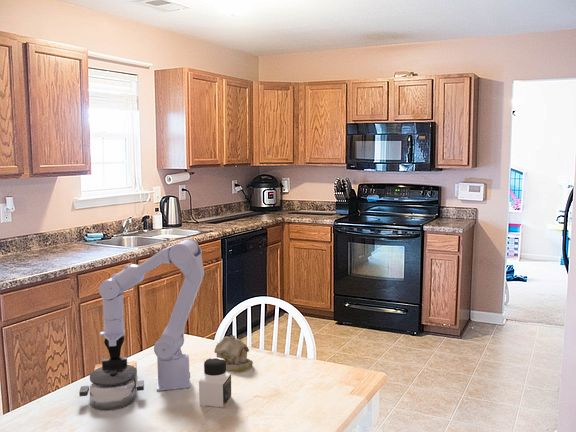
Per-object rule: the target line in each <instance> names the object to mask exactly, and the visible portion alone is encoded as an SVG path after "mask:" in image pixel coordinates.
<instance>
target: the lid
mask: <svg viewBox="0 0 576 432" xmlns="http://www.w3.org/2000/svg"><path fill="white" fill-rule="evenodd" d="M127 362H128V357H127V356H123V357H121V356H120V358H110V357H109V358H102V361H101V363H102V367H100V368H98V369H96V370H95V369H94V370H93V371H92V372H90V374H89V381H90V383H91V384H96V385H100V386H113V385H119V384H123V383H126V382H129V381H131V380H133V379H134V378H135V377H136V376H137V377H138V370H137V369H138V368H137V369H136V368H135V367H133V366H131V365H127Z"/></svg>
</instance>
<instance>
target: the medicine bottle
mask: <svg viewBox="0 0 576 432" xmlns="http://www.w3.org/2000/svg"><path fill="white" fill-rule="evenodd" d="M203 371H204V372H203V373H204V375H203V376H202V377H201V378H200V380H199V381H198V397H199V398H198V399H199V402H198V403H199V406H204V407H214V408H225V406H226V405H227V403H228V402H229V400H230V399H231V397H232V374H231V373H232V372H227V371H226V361H225V360H224V359H222V358H217V356H216V357H215V356H214V357H211V358H208V359H205V360H204V363H203Z"/></svg>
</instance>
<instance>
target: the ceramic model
mask: <svg viewBox="0 0 576 432" xmlns="http://www.w3.org/2000/svg"><path fill="white" fill-rule="evenodd" d="M249 352H250V349H249V347H248V346H247V344H246V343H244V341H243V340H241V339H239V338H236V335H233V334H230V336H224V337H223V338H222V339H221V340H220V341H219V342H218V343H217V344H216V345H215V348H214V354H216V357H217V358H222V359H224V360H225V361H226V372H229V373H238V374H239V373H240V374H241V373H244V372H247V371H249V370H251V369H252V368H253V364H254V362H253V360H251V359H249V358H248V353H249Z"/></svg>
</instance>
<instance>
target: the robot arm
mask: <svg viewBox="0 0 576 432" xmlns="http://www.w3.org/2000/svg"><path fill="white" fill-rule="evenodd" d="M202 253H203V250H202V249H201V246H200V245H199V244H198V241H196V240H194V239H193V238H185V239H183V240H182V241H179V242H176V243H174V244H173V245H170V246H167V247H165V248H163V249H161V250H159V251H158V252H157V253H155V254H153V255H152V256H150V257H149V258H147V259H146V260H145V261H143V262H142V263H140V264H135V263H132V264H129V263H128V264H126V265H125V266H124V267H123V269H122V270H120V271H119V272H117V273H116V272H115V273H113V274H112V275H111V277H110V278H108V279H104V280H103V282H102V283H100V285H99V287H98V293H99V295H100V297H101V298H102V314H103V316H102V317H103V331H100V333H99V336H100V337H104V341H103V342H104V346H105V347H106V349H107V350H108V353H109V358H121V351H122V346H123V344H124V341H125V335H126V334H125V333H126V330H125V323H124V322H125V319H124V300H123V299H124V297H123V295H124V293H125V292H126V291H128V290H130V289H131V288H133V287H135V286H136V285H138V284H139V283H141V282H142V281H143V280H144V279H145V275H146V274H147V273H149V272H150V271H153V269H155V268H157V267H158V266H161V265H162V264H169V265H171V264H172V263H173V265H175V267H177V268H178V270H180V271H181V273H182V275H183V276H184V280H183V282H182V284H181V288H180V290H179V294H178V295H177V298H176V301H175V304H174V306H173V308H172V310H171V311H172V312H171V315H170V317H169V320H168V323H167V325H166V327H165V328H164V330H163V332H162V333H161V336H160V338H159V339H158V340H157V341H156V342H155V343H154V345H153V352H154V354H155V356H156V357H157V361H156V362H157V378H156V391H157V392H158V391H168V390H169V391H170V390H179V389H187V388H188V389H189V388H191V386H190V385H191V383H190V379H191V372H190V357H189V353H183V352H182V349H181V348H182V347H183V346H184V343H185V337H184V336H185V335H184V334H185V332H186V329H185V327H186V324H187V321H188V319H189V316H190V314H191V311H192V308H193V306H194V304H195V300H196V298H197V295H198V292H199V290H200V288H201V285H202V281H203V279H204V276H205V268H204V263H203V257H202V255H203V254H202Z"/></svg>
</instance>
